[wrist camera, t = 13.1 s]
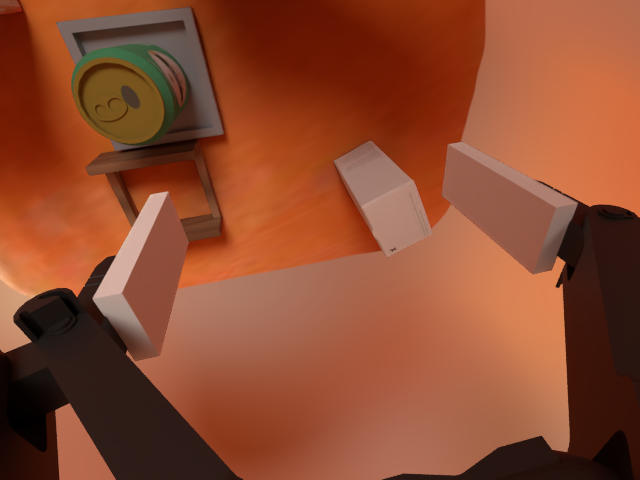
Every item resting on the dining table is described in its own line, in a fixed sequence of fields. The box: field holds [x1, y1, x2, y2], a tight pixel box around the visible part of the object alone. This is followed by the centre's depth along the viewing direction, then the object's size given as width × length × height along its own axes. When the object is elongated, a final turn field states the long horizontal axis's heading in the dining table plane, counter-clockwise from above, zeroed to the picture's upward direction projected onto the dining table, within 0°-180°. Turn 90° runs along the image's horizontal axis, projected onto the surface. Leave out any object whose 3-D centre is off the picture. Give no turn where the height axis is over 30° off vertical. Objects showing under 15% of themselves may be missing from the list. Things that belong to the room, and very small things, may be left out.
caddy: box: [85, 139, 223, 241], centre depth 43 cm, size 12×12×5 cm
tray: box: [56, 7, 224, 151], centre depth 37 cm, size 13×13×2 cm
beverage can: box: [72, 43, 189, 146], centre depth 32 cm, size 8×8×12 cm
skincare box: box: [334, 140, 433, 257], centre depth 43 cm, size 8×7×16 cm
